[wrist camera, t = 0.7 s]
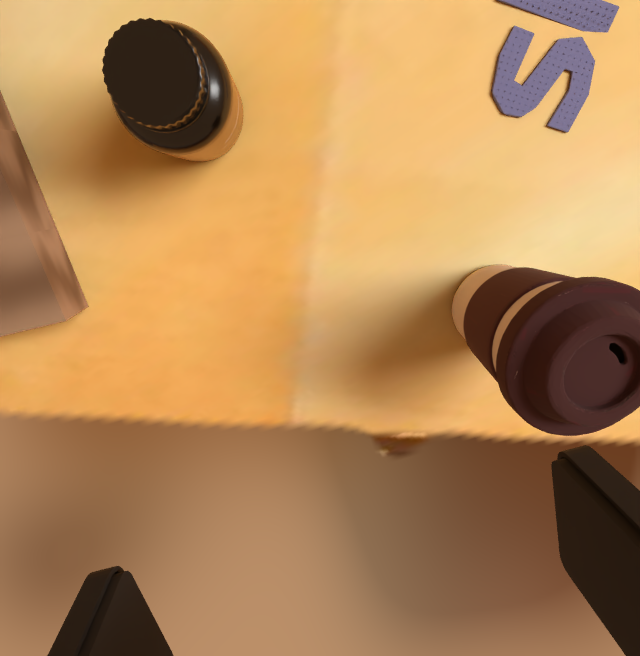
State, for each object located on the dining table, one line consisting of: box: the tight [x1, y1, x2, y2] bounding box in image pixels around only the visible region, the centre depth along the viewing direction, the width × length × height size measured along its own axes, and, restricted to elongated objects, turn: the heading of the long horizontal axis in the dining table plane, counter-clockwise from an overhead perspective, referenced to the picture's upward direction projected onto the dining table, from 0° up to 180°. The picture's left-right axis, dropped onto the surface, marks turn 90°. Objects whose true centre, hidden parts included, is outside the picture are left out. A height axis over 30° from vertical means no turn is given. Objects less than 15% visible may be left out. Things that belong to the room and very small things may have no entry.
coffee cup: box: [452, 265, 640, 436], centre depth 32 cm, size 10×10×15 cm
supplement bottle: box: [102, 18, 243, 162], centre depth 27 cm, size 7×7×12 cm
